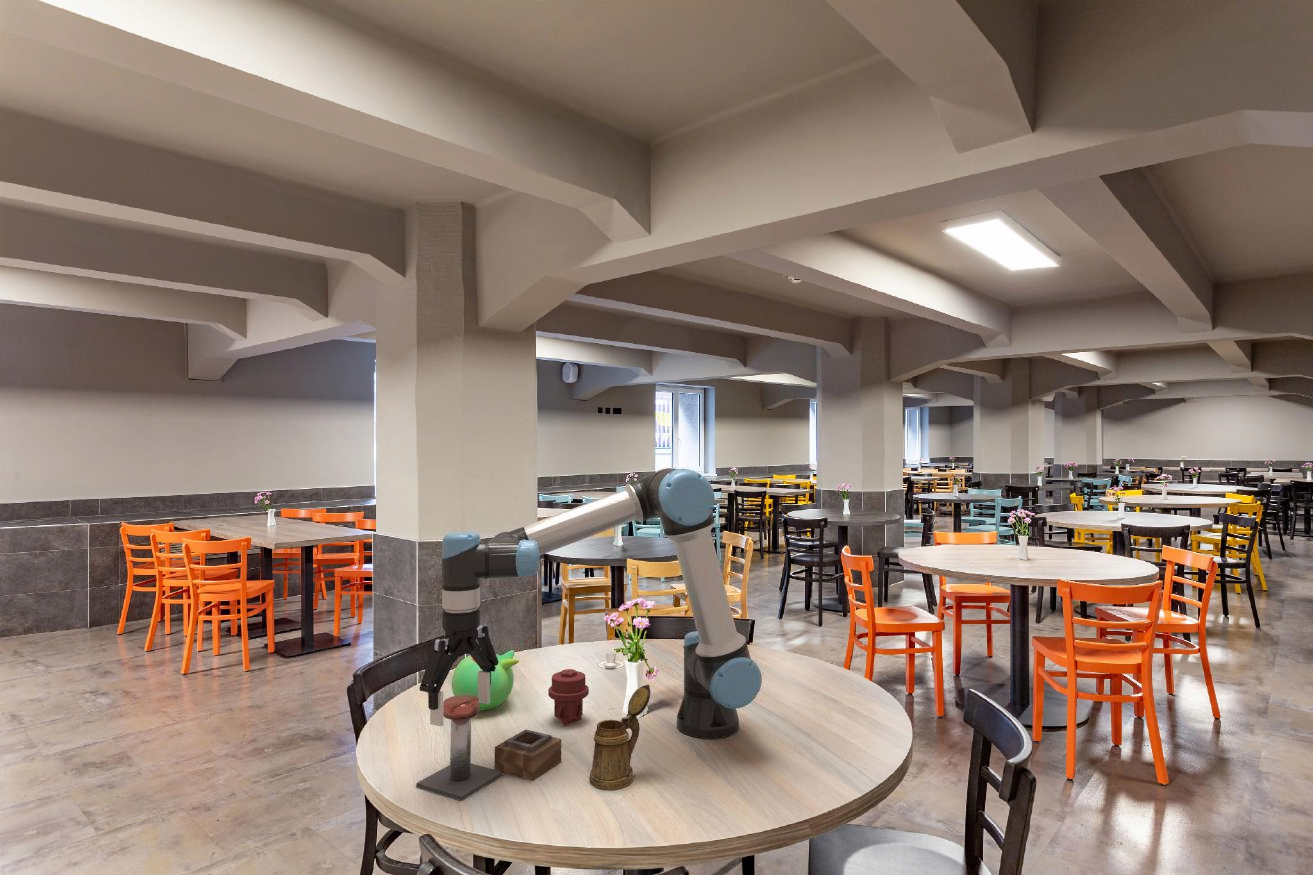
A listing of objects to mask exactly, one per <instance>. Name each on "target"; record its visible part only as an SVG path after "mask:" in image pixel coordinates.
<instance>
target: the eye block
mask: <svg viewBox="0 0 1313 875" xmlns="http://www.w3.org/2000/svg"><path fill="white" fill-rule="evenodd" d="M561 763H562V738H559V737H555V736H552V734H548V733H542V732H538V731H535V730H530V729H524V730H522V731H520V732H519V733H517V734H515V735H513V736H511V737H509V738H507V739H506V740H504V741H503V742H501V743H498V744H497V745H496V746H494V766H493V767H494V770H498V771H501V772H503V774H505V775H509V776H512V777H516V778H520V779H523V780H527V781H531V782H533V781H535V780H537V779H538V778H540V777H542V775H545V774H546V773H548V772H549V771H551V769H553V768H555V767H556V766H558V765H559V764H561Z"/></svg>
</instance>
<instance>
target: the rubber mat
mask: <svg viewBox="0 0 1313 875" xmlns="http://www.w3.org/2000/svg"><path fill="white" fill-rule="evenodd" d="M503 774H504V773H503V772H501V771H498V770H494V769H493V768H489V767H486V766H483V765H478V764H475V763H471V774H470V778H469V779H468V780H465V781H461V782H455V781H452V780H451V779H450V764H449V765H446V766H445V767H443V768H441V769H440V770H438V771H436V772H434V773H432V774H430V775H428V776H426V777H425V778H423V779H422V780H419V781H417V782H416V783H415V786H416V788H418V789H420V790H424V791H427V792H431V793H434V794H438V795H441V796H445V797H448V798H451V799H454V800H458V801H460V802H461V801H464V800H465V799H467V798H469V797H471V796H472V795H473V794H475V793H477V792H479V791H481V789H483V788H485V787H487V786H488V785H489V784H491V783H493V782H495V781H497V780H499V779H500V778H501V777H503Z"/></svg>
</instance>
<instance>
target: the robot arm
mask: <svg viewBox="0 0 1313 875" xmlns="http://www.w3.org/2000/svg"><path fill="white" fill-rule="evenodd" d="M715 500H716V498H715V492H714V488H713V486H712V484H711V483H710V482H709V480H708V479H707V478H706V477H705V476H703V475H702V474H701V473H698V472H697V471H695V470H691V469H688V468H675V467H674V468H669V467H668V468H663V469H660V470H658V471H655V472H653V473H650V474H648V475H646V476H643V477H641V478H640V479H637V480H635V481H632V482H630V483H626V484H625V486H624V489H623V490H620V491H618V492H615V493H612V494H608V495H607V496H604V497H601V498H597V499H595V500H593V501H590V502H587V503H584V504H582V505H579V506H577V507H573V508H570V509H568V510H566V511H562V512H559V513H557V514H553V515H551V516H549V517H546V518H544V519H540V520H538V521H535V522H533V523H530V524H526V525H524V526H522V527H519V528H516V529H513V530H510V531H502V532H499V533H497V534H495V535H494V536H493V538H492V539H491V540H490V541H482V539H481V536H480V534H479V533H478V532H473V531H469V532H468V531H458V532H451V533H448V534H445V536H443V539H442V544H441V545H442V546H441V547H442V548H441V587H442V588H441V596H442V597H441V602H442V603H441V605H442V606H441V607H442V609H443V611H442V612H441V627H442V630H443V631H444V637H443V638H442V639H438V638H437V639H436V638H434V639H433V640H432V641H431V651H430V655H429V658H428V660H427V664H426V667H425V669H424V674H423V676H422V678H421V682H420V684H419V691H420V692H425V693H427V694H428V697H427V698H428V699H427V700H428V702H427V704H428V705H427V706H428V709H429V711H430V712H429V714H430V719H429V720H430V721H429V723H430V725H433V726H437V727H440V728H441V727H443V726H444V716H443V702H444V691H443V690H441V689H442V687H443V685H444V683H445V681H446V679H447V678H448V675H449V672H450V671H451V669H452V667H453V664H454V663H455V662H457V660H458V659H459V657H460V658H461V657H463V656H464V655H471V656H472V658H473V659H474V660H475V662H476V663H477V664H478V666H479V667H480V668H481V669H482V671H478V698H479V702H480V703H485V704H489V703H490V685H491V671H492V672H494V671H495V670H496V667H495V666H497V665H498V659H497V656H496V654H497V653H496V651H495V648H494V646H493V644H492V641H491V638H490V635H489V627H488V626H487V625H481V609H479V607H480V606H481V583H480V582H481V579H497V578H499V579H501V578H502V579H503V578H524V577H532V576H536V575H537V574H538V573H539V569H540V556H542V555H544V554H548V553H550V552H554V551H555V550H558V549H561V548H563V547H566V546H569V545H571V544H574V543H577V542H580V541H582V540H585V539H588V538H590V537H593V536H595V535H598V534H601V533H604V532H606V531H610V530H611V529H614V528H617V527H619V526H622V525H625V524H628V523H631V522H633V521H636V522H639V523H643V522H646V521H648V520H652V519H657V518H659V519H660V524H661V526H662V531H663V533H664V536H665V537H666V538H668V539H670V540H672V542H673V545H674V549H675V553H676V557H677V559H678V564H679V568H680V571H681V576H682V579H683V583H684V588H685V590H686V594H687V598H688V600H689V601H688V602H689V604H690V605H689V606H690V609H691V613H692V617H693V620H694V624H695V628H696V630H695V631H691V632H688V633H686V634H685V636H684V641H683V642H684V643H683V646H682V648H683V696H682V700H681V702H680V705H679V709H678V712H677V715H676V728H677V729H678V731H680V732H681V733H682V734H684V735H687V736H690V737H693V738H699V739H721V738H726V737H729V736H732V735H734V734H735V733H737V732H738V731H739V729H740V719H739V715H738V714H739V713H738V711H737V709H741V708H745V707H746V706H748V705H749V704H751V703H752V702H753V701H754V700H755V699H756V698H757V695H758V694H759V692H760V691H761V688H762V683H763V682H762V681H763V677H762V676H763V675H762V672H761V668H759V666H758V664H757V662H755V661H754V660H753V659H752V658H751V655H750V651H749V650H750V649H749V647H748V644H747V639H746V637H745V635H743V634H741V633H739V632H738V631H737V628H736V624H735V620H734V617H733V612H732V609H731V606H730V601H729V597H728V593H727V590H726V586H725V582H724V577H723V575H722V571H721V570H722V569H721V567H720V563H719V560H718V559H719V558H718V555H717V552H716V547H715V544H714V540H713V537H712V529H713V527H714V526H715V524H716V521H715V517H714V513H713V510H714V507H715Z"/></svg>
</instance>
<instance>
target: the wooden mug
mask: <svg viewBox="0 0 1313 875" xmlns="http://www.w3.org/2000/svg"><path fill="white" fill-rule="evenodd" d="M650 687H651V686H650V684H644V685H642V686H640V687H638V688H637V689H636V690H635V691H634V692H633V693H632V695H631V697H630V699H629V700H628V705H627V714H626V716H624V717H622V718H621V721H620V720H616V719H605V720H602V721H599V722H597V724H596V730H595V732H594V735H593V741H594V748H593V756H592V757H593V758H592V765H591V769H590V771H589V777H588V779H589V780H588V781H589V784H591V786H593V787H595V788H598V789H601V790H607V791H608V790H611V791H612V790H619V789H623V788H625V787H627V786H628V785H631V783H632V782H633V780H634V771H633V767H632V765H631V762H632V761H631V760H632V754H633V751H634V749H635V746H636V744H637V741H638V739H639V735H640V722H639V719H638V717H639V716H640V715H641V714H643V712H644V711H645V709H646V708H647V707H648V705H649V702H650V697H651V688H650ZM628 729H629V730H631V736H630V735H629V732H628ZM629 736H630V738H629Z"/></svg>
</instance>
